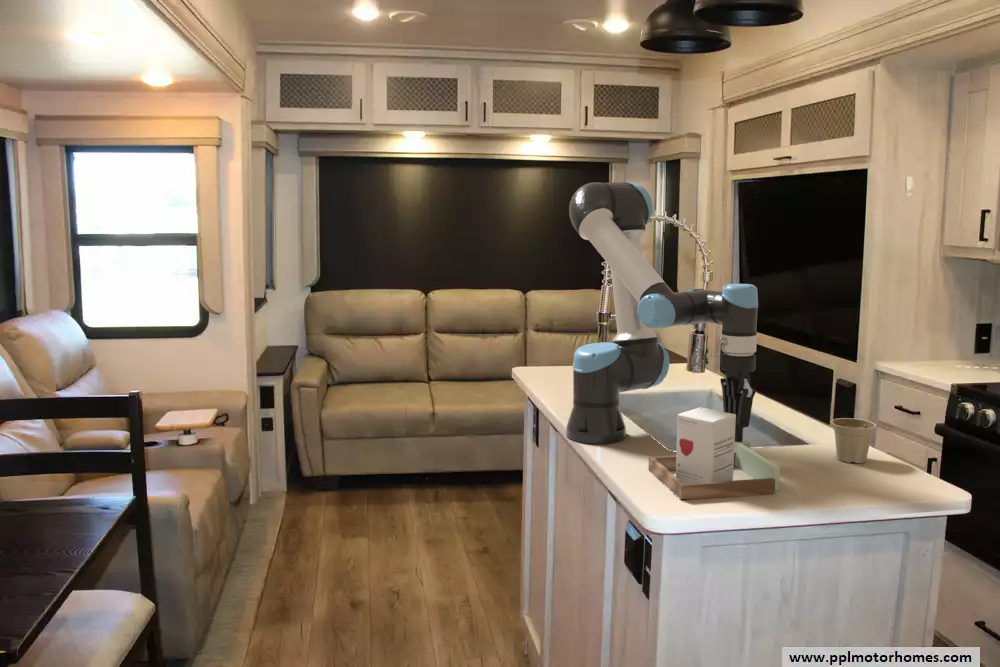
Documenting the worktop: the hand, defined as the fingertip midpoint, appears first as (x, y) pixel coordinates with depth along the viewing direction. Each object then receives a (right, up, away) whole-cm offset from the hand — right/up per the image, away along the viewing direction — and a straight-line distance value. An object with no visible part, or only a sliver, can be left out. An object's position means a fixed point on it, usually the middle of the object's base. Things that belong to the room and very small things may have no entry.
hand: (735, 454), depth 184 cm
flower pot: (+27, -1, 0) cm, 27 cm away
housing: (-10, -4, -13) cm, 17 cm away
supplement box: (-11, -4, -14) cm, 18 cm away
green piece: (+2, -3, -10) cm, 11 cm away
